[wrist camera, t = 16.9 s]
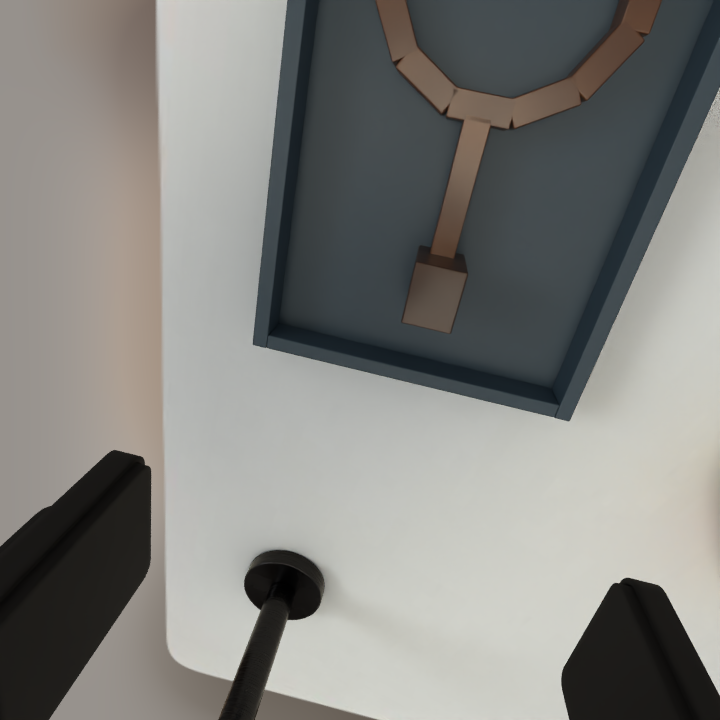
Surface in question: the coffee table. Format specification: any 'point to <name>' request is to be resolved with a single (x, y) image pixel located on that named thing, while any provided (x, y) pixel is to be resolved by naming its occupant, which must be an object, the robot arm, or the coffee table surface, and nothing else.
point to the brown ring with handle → (478, 114)
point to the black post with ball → (271, 622)
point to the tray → (490, 194)
